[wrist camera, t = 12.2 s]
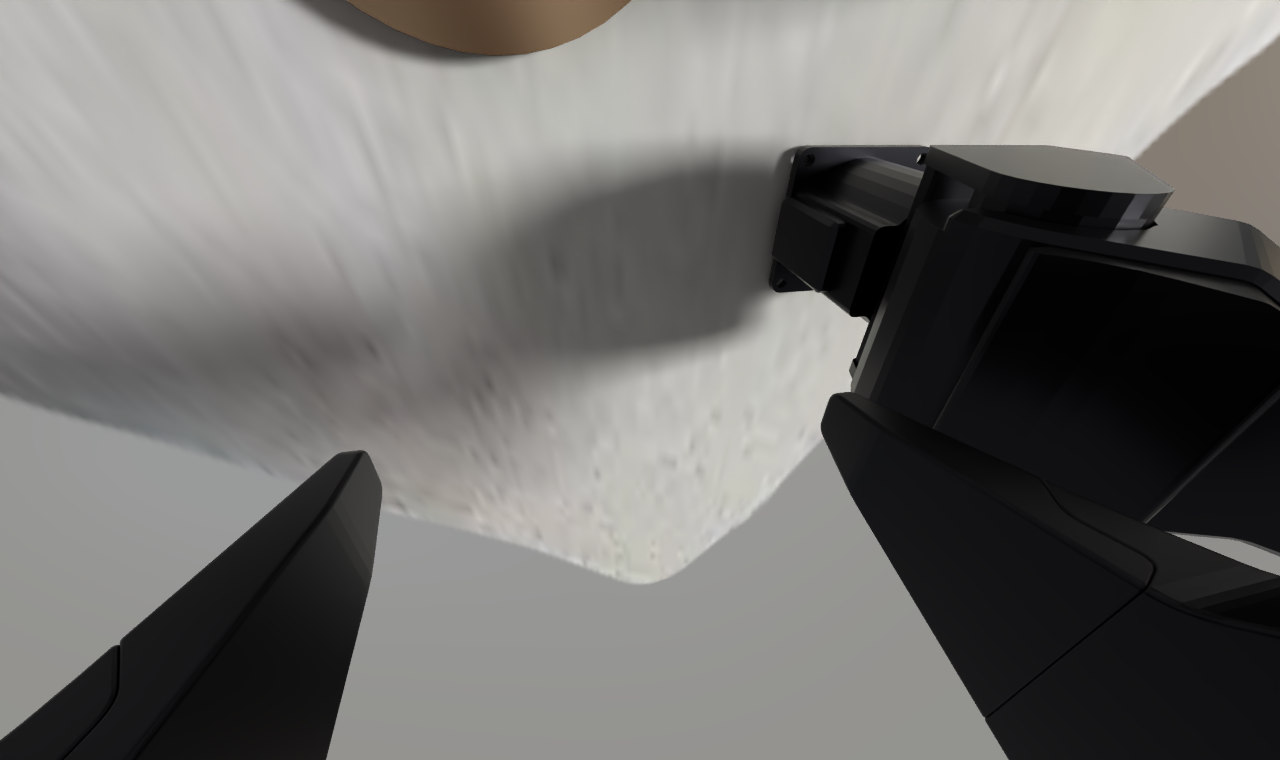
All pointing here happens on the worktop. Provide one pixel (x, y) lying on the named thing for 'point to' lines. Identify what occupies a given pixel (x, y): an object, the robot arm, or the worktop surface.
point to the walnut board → (493, 22)
